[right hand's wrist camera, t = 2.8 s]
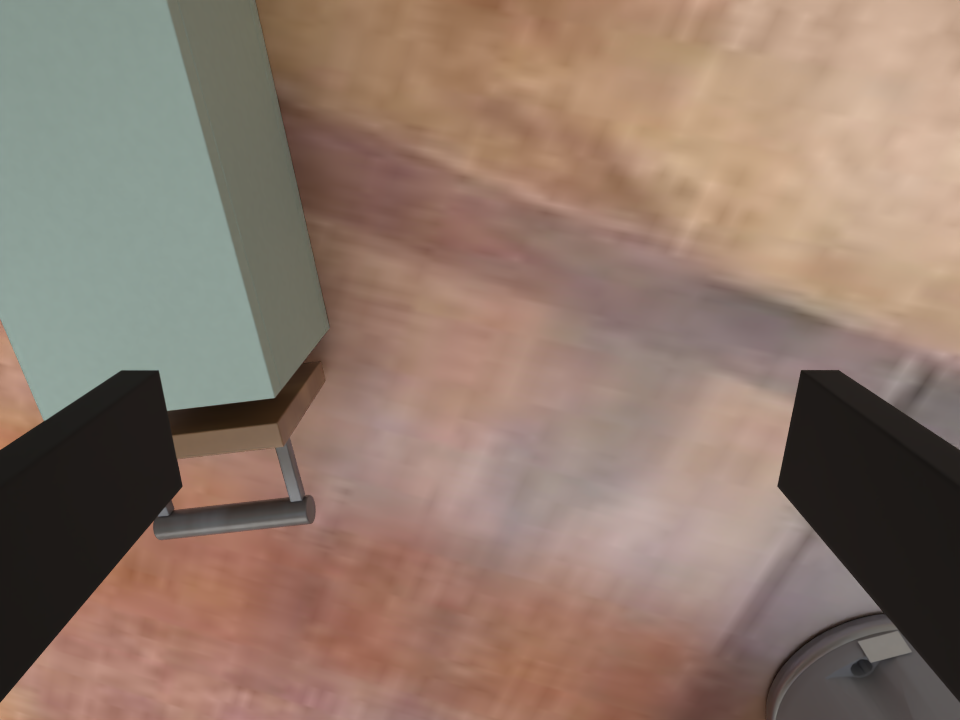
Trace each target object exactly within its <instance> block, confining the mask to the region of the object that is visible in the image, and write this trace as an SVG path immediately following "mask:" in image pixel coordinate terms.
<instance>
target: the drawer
mask: <svg viewBox="0 0 960 720" xmlns="http://www.w3.org/2000/svg"><path fill="white" fill-rule="evenodd" d="M324 382H325V376H324V372H323V368H322V364H321V361H318V362H310V363H302V364H301V365H300V367H299V368H298V369H297V370H296V372H295V373H294V374H293V376H292V377H291V378H290V379H289V381H288V382H287V383H286V385H285V386H284V387H283V388H282V389H281V391H280V392H279V393H278V395H277V396H276V397H275V398H271V399H262V400H254V401H246V402H237V403H229V404H220V405H212V406H204V407H195V408H187V409H179V410H170V411H167V413H168V418H169V422H170V427H171V432H172V437H173V442H174V447H175V452H176V457H177V459H183V458H191V457H200V456H208V455H217V454H226V453H234V452H243V451H252V450H260V449H269V448H276V452H277V456H278V459H279V463H280V466H281V470H282V473H283V477H284V480H285V484H286V487H287V491H288V495H289V497H287V498H278V499H269V500H260V501H251V502H242V503H233V504H224V505H215V506H206V507H197V508H188V509H179V510H174V506H173V503H172V500H171V501H170V502H169V503H168V504H167V505H166V507H165V508H164V509H163V510H162V511H161V513H160V514H159V515H158V516H157V517H156V518H155V520H154V523H153V530H154V534H155V536H156V538H157V539H159V540H167V539H176V538H186V537H195V536H204V535H213V534H222V533H231V532H241V531H250V530H259V529H268V528H277V527H286V526H295V525H305V524H311V523H313V521H314V519H315V502H314V499H313V497H312V496H311V495H305V492H304V488H303V485H302V481H301V477H300V474H299V470H298V466H297V462H296V459H295V455H294V451H293V448H292V444H291V440H290V436H291V434H292V433H293V431H294V430H295V428H296V426H297V425H298V423H299V422H300V420H301V419H302V417H303V415H304V414H305V412H306V411H307V409H308V407H309V406H310V404H311V403H312V401H313V400H314V398H315V396H316V395H317V393H318V392H319V390H320V389H321V387H322V385H323V384H324Z"/></svg>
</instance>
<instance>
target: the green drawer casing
mask: <svg viewBox="0 0 960 720" xmlns="http://www.w3.org/2000/svg"><path fill="white" fill-rule="evenodd" d="M0 319H1V322H2V324H3V326H4V329H5V331H6V333H7V336H8V338H9V340H10V343H11V345H12V347H13V350H14V352H15V354H16V357H17V359H18V362H19V364H20V366H21V369H22V371H23V373H24V376H25V378H26V380H27V383H28V385H29V387H30V390H31V392H32V394H33V397H34V399H35V401H36V404H37V406H38V408H39V411H40V413H41V415H42V418H43V420H44V421H45V420H47V419H48V418H50V417H51V416H53V415H54V414H56V413H57V412H59V411H60V410H62V409H63V408H65V407H66V406H68V405H69V404H71V403H73V402H74V401H76V400H77V399H79V398H80V397H82V396H83V395H85V394H86V393H88V392H89V391H91V390H92V389H94V388H95V387H97V386H98V385H100V384H101V383H103V382H104V381H106V380H107V379H109V378H110V377H112V376H113V375H115V374H116V373H118V372H119V371H121V370H159V373H160V378H161V383H162V388H163V393H164V398H165V403H166V408H167V411H170V410H179V409H187V408H195V407H204V406H212V405H220V404H229V403H237V402H246V401H254V400H262V399H271V398H275V397H276V396H277V395H278V393H279V392H280V391H281V389H282V388H283V387H284V386H285V385H286V383H287V382H288V381H289V379H290V378H291V377H292V376H293V374H294V373H295V372H296V370H297V369H298V368H299V367H300V365H301V364H302V363H303V362H304V360H305V359H306V358H307V356H308V355H309V354H310V353H311V351H312V350H313V349H314V348H315V346H316V345H317V344H318V342H319V341H320V340H321V339H322V337H323V336H324V335H325V333H326V332H327V331H328V330H329V328H330V327H329V323H328V318H327V314H326V310H325V305H324V301H323V296H322V292H321V288H320V283H319V279H318V275H317V270H316V266H315V261H314V257H313V253H312V248H311V244H310V239H309V235H308V231H307V226H306V222H305V217H304V213H303V209H302V204H301V200H300V195H299V191H298V187H297V182H296V178H295V173H294V169H293V165H292V160H291V156H290V152H289V147H288V143H287V138H286V134H285V130H284V125H283V121H282V116H281V112H280V108H279V103H278V99H277V94H276V90H275V86H274V81H273V77H272V72H271V68H270V64H269V59H268V55H267V51H266V46H265V42H264V37H263V33H262V29H261V24H260V20H259V15H258V11H257V7H256V2H255V0H0Z"/></svg>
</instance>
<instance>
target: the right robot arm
mask: <svg viewBox="0 0 960 720" xmlns="http://www.w3.org/2000/svg"><path fill="white" fill-rule="evenodd" d="M181 488H182V481H181V476H180V471H179V467H178V462H177V457H176V452H175V447H174V442H173V437H172V432H171V427H170V422H169V418H168V413H167V408H166V403H165V398H164V393H163V388H162V383H161V378H160V373H159V370H121V371H119V372H118V373H116V374H115V375H113V376H112V377H110V378H109V379H107V380H106V381H104V382H103V383H101V384H100V385H98V386H97V387H95V388H94V389H92V390H91V391H89V392H88V393H86V394H85V395H83V396H82V397H80V398H79V399H77V400H76V401H74V402H73V403H71V404H69V405H68V406H66V407H65V408H63V409H62V410H60V411H59V412H57V413H56V414H54V415H53V416H51V417H50V418H48V419H47V420H45V421H44V422H42V423H41V424H39V425H38V426H36V427H35V428H33V429H32V430H30V431H29V432H27V433H26V434H24V435H23V436H21V437H19V438H18V439H16V440H15V441H13V442H12V443H10V444H9V445H7V446H6V447H4V448H3V449H1V450H0V702H1V701H2V700H3V699H4V698H5V696H6V695H7V694H8V693H9V692H10V690H11V689H12V688H13V687H14V686H15V684H16V683H17V682H18V681H19V680H20V679H21V677H22V676H23V675H24V674H25V673H26V671H27V670H28V669H29V668H30V667H31V666H32V664H33V663H34V662H35V661H36V660H37V658H38V657H39V656H40V655H41V654H42V652H43V651H44V650H45V649H46V648H47V647H48V645H49V644H50V643H51V642H52V641H53V639H54V638H55V637H56V636H57V635H58V633H59V632H60V631H61V630H62V629H63V628H64V626H65V625H66V624H67V623H68V622H69V620H70V619H71V618H72V617H73V616H74V615H75V613H76V612H77V611H78V610H79V609H80V607H81V606H82V605H83V604H84V603H85V601H86V600H87V599H88V598H89V597H90V596H91V594H92V593H93V592H94V591H95V590H96V588H97V587H98V586H99V585H100V584H101V583H102V581H103V580H104V579H105V578H106V577H107V575H108V574H109V573H110V572H111V571H112V569H113V568H114V567H115V566H116V565H117V564H118V562H119V561H120V560H121V559H122V558H123V556H124V555H125V554H126V553H127V552H128V550H129V549H130V548H131V547H132V546H133V545H134V543H135V542H136V541H137V540H138V539H139V537H140V536H141V535H142V534H143V533H144V532H145V530H146V529H147V528H148V527H149V526H150V524H151V523H152V522H153V521H154V520H155V518H156V517H157V516H158V515H159V514H160V513H161V511H162V510H163V509H164V508H165V507H166V505H167V504H168V503H169V502H170V501H171V499H172V498H173V497H174V496H175V495H176V494H177V492H178V491H179V490H180V489H181ZM778 488H779V489H780V490H781V491H782V492H783V494H784V495H785V496H786V497H787V498H788V499H789V501H790V502H791V503H792V504H793V505H794V507H795V508H796V509H797V510H798V511H799V513H800V514H801V515H802V516H803V517H804V518H805V520H806V521H807V522H808V523H809V524H810V526H811V527H812V528H813V529H814V530H815V532H816V533H817V534H818V535H819V536H820V537H821V539H822V540H823V541H824V542H825V543H826V545H827V546H828V547H829V548H830V549H831V550H832V552H833V553H834V554H835V555H836V556H837V558H838V559H839V560H840V561H841V562H842V564H843V565H844V566H845V567H846V568H847V569H848V571H849V572H850V573H851V574H852V575H853V577H854V578H855V579H856V580H857V581H858V583H859V584H860V585H861V586H862V587H863V588H864V590H865V591H866V592H867V593H868V594H869V596H870V597H871V598H872V599H873V600H874V601H875V603H876V604H877V605H878V606H879V607H880V609H881V610H882V611H883V612H884V613H885V614H879V615H873V616H868V617H864V618H860V619H856V620H853V621H850V622H847V623H844V624H842V625H839V626H837V627H834V628H832V629H830V630H828V631H826V632H824V633H823V634H821V635H819V636H817V637H816V638H814V639H813V640H811V641H810V642H808V643H807V644H805V645H804V646H803V647H802V648H801V649H799V650H798V651H797V652H796V653H795V654H794V655H793V656H792V657H791V658H790V659H789V660H788V661H787V662H786V663H785V664H784V666H783V667H782V668H781V670H780V671H779V672H778V674H777V676H776V677H775V679H774V681H773V683H772V685H771V688H770V690H769V694H768V697H767V703H766V718H767V720H960V450H959V449H957V448H956V447H954V446H953V445H951V444H950V443H948V442H947V441H945V440H944V439H942V438H941V437H939V436H937V435H936V434H934V433H933V432H931V431H930V430H928V429H927V428H925V427H924V426H922V425H921V424H919V423H918V422H916V421H915V420H913V419H912V418H910V417H909V416H907V415H906V414H904V413H903V412H901V411H900V410H898V409H897V408H895V407H894V406H892V405H891V404H889V403H887V402H886V401H884V400H883V399H881V398H880V397H878V396H877V395H875V394H874V393H872V392H871V391H869V390H868V389H866V388H865V387H863V386H862V385H860V384H859V383H857V382H856V381H854V380H853V379H851V378H850V377H848V376H847V375H845V374H844V373H842V372H841V371H839V370H801V373H800V378H799V383H798V388H797V393H796V398H795V403H794V408H793V413H792V417H791V422H790V427H789V432H788V437H787V442H786V447H785V452H784V457H783V462H782V467H781V471H780V476H779V481H778Z"/></svg>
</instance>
